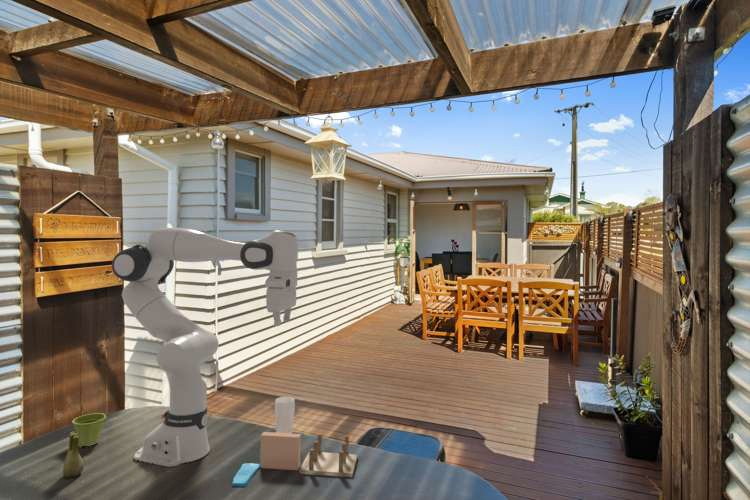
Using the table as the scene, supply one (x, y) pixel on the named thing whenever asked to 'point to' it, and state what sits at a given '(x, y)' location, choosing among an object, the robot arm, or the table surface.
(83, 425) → the plant pot
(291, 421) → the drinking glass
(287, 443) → the ceramic tile
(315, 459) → the slot rack
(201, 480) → the table surface
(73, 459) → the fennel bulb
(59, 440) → the table surface
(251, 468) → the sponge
